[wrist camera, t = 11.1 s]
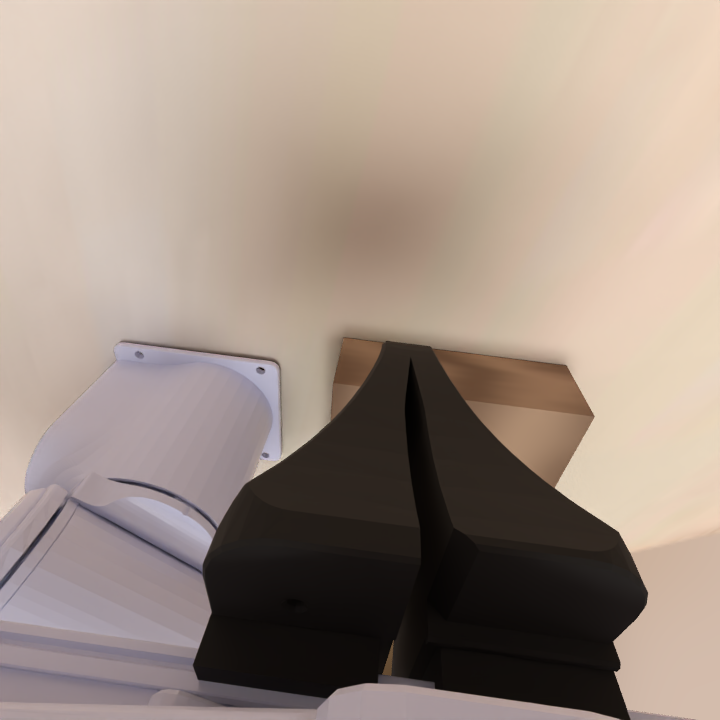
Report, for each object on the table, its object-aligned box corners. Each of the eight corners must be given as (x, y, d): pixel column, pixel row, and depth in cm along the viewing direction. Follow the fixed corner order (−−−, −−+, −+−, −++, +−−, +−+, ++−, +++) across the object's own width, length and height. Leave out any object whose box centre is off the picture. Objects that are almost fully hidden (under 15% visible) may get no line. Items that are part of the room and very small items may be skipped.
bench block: (332, 476, 29) (323, 528, 26) (343, 337, 22) (333, 382, 19) (503, 499, 29) (516, 554, 25) (566, 365, 22) (594, 416, 19)
